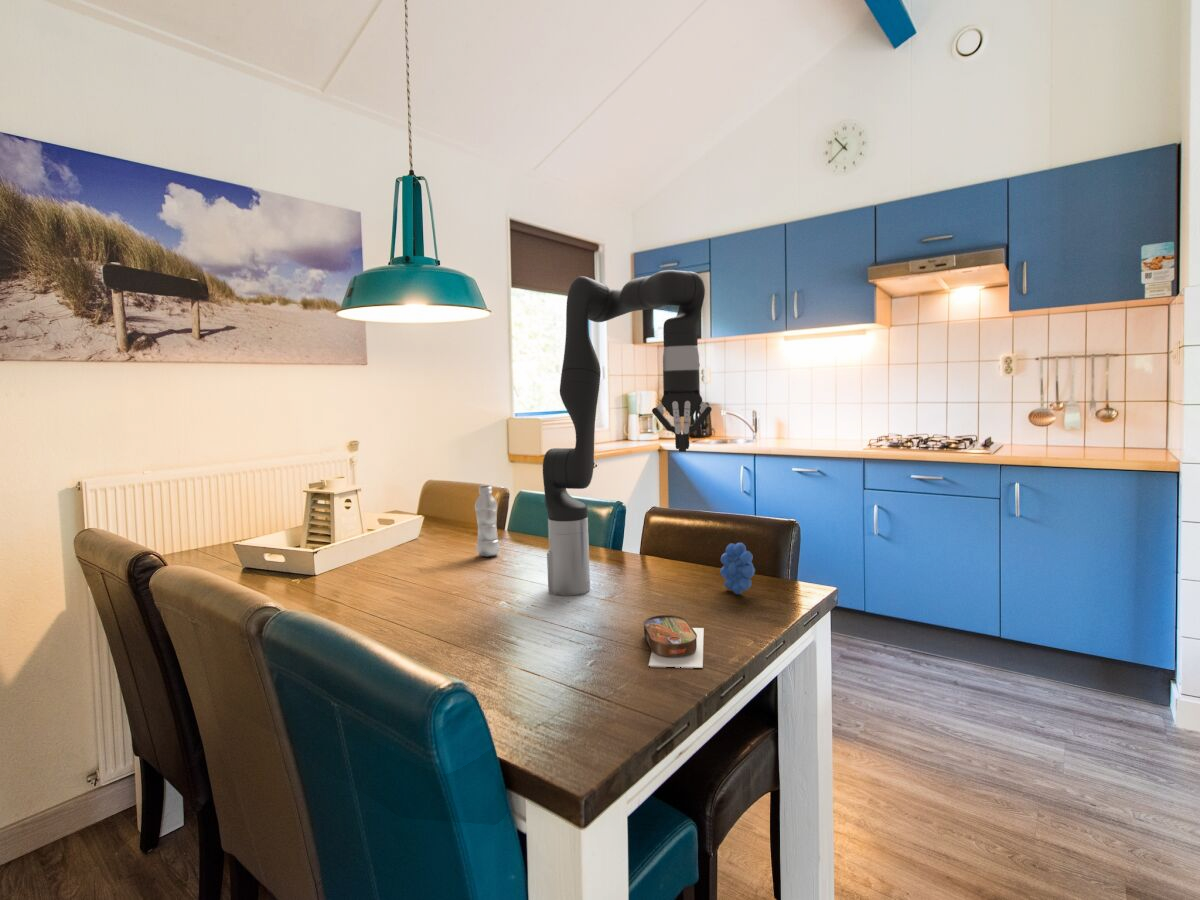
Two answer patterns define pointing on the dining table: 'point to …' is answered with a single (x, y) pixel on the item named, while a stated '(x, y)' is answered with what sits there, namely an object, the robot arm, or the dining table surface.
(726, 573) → the grapes
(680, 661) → the mat
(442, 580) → the dining table surface
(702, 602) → the dining table surface
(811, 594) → the dining table surface
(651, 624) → the tin
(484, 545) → the plastic bottle
